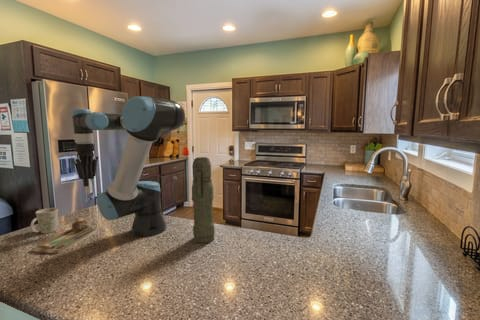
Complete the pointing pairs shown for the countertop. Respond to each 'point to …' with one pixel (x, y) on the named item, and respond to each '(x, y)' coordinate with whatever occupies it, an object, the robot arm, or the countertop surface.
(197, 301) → the countertop surface
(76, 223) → the slider knob
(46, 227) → the mug
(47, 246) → the tuner board
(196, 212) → the green carved statue
